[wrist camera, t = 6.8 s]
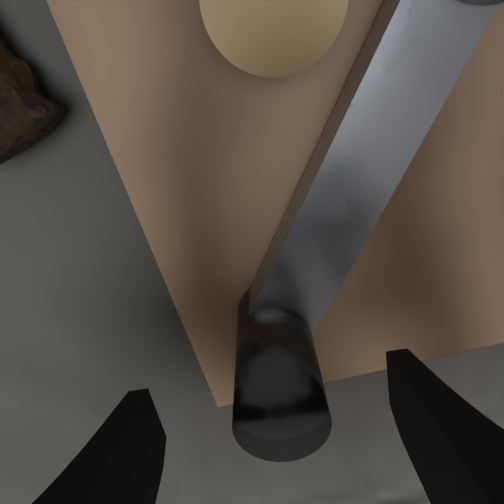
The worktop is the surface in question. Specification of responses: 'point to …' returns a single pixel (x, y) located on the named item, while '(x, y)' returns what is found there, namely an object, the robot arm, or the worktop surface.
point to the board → (294, 183)
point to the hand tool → (23, 107)
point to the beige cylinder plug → (273, 32)
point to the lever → (341, 216)
